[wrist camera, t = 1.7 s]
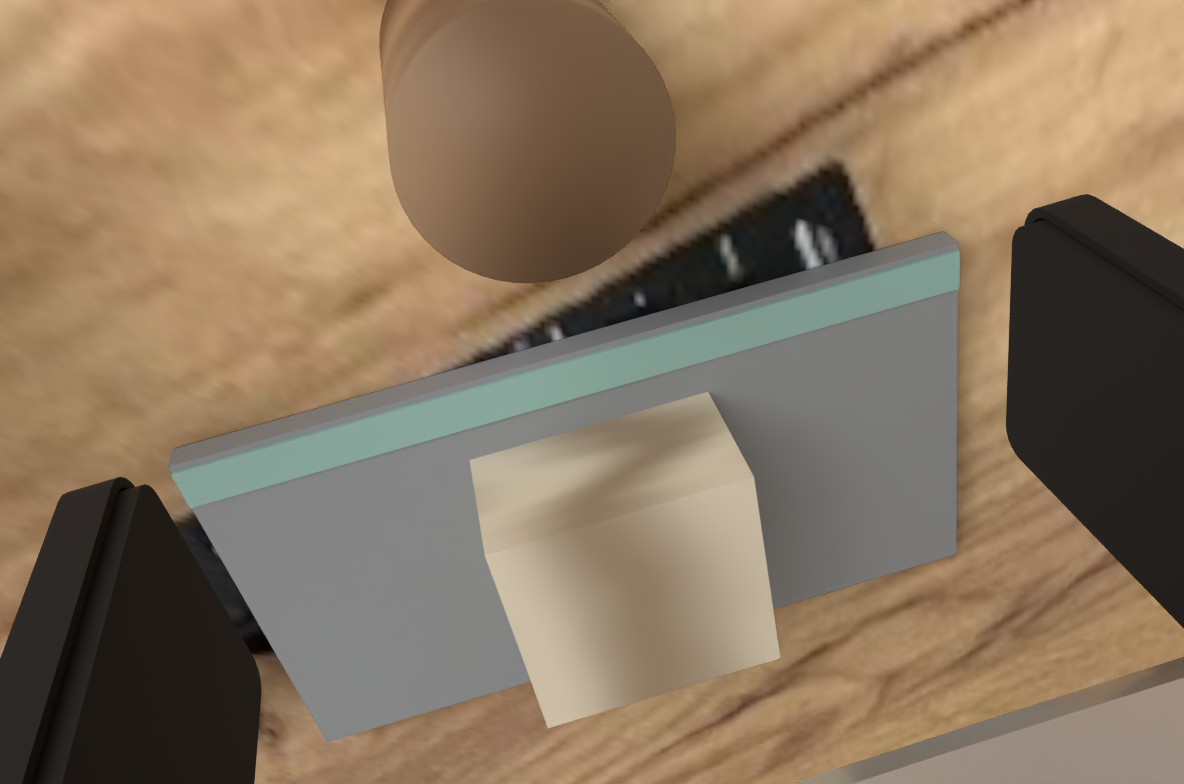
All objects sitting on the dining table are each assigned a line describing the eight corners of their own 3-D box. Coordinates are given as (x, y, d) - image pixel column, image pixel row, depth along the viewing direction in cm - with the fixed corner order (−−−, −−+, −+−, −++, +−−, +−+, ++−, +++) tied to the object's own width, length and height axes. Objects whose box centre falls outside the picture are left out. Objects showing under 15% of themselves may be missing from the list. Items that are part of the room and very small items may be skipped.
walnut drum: (572, -96, 22) (650, -34, 16) (615, 123, 25) (694, 241, 19) (348, -37, 22) (346, 46, 16) (417, 177, 25) (437, 313, 19)
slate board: (944, 231, 28) (959, 244, 28) (945, 538, 35) (957, 556, 34) (172, 449, 27) (167, 469, 27) (327, 722, 34) (326, 744, 33)
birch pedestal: (708, 391, 29) (754, 476, 25) (737, 564, 33) (780, 657, 29) (469, 460, 28) (485, 555, 25) (528, 626, 32) (548, 728, 29)
